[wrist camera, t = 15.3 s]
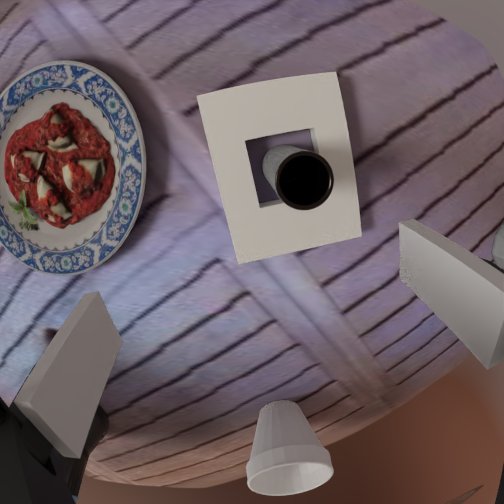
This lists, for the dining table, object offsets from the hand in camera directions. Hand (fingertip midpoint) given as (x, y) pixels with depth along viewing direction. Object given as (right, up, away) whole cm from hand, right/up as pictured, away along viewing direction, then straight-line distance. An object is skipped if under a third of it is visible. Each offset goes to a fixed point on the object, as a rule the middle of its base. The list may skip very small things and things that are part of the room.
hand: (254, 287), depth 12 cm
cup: (+5, -25, +34) cm, 43 cm away
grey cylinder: (+3, +10, +19) cm, 22 cm away
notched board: (+3, +10, +19) cm, 22 cm away
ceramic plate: (-24, +11, +18) cm, 32 cm away
